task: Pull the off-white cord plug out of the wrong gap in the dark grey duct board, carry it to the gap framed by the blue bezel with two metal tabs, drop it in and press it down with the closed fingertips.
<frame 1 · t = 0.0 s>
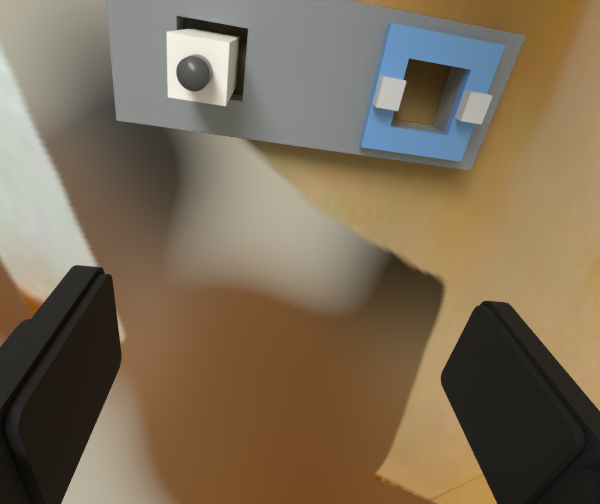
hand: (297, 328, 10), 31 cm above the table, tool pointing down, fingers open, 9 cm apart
duct board: (313, 74, 35), on the table
cord plug: (215, 57, 34), resting in duct board
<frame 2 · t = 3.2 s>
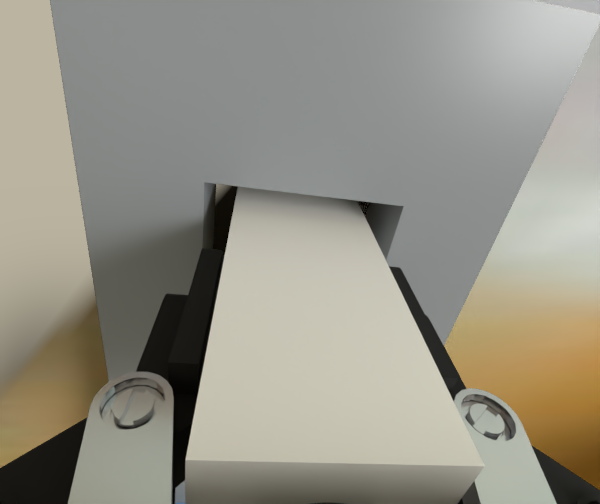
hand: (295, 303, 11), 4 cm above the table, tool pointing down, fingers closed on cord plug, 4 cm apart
duct board: (263, 387, 19), on the table
cord plug: (288, 231, 14), resting in duct board, touching gripper
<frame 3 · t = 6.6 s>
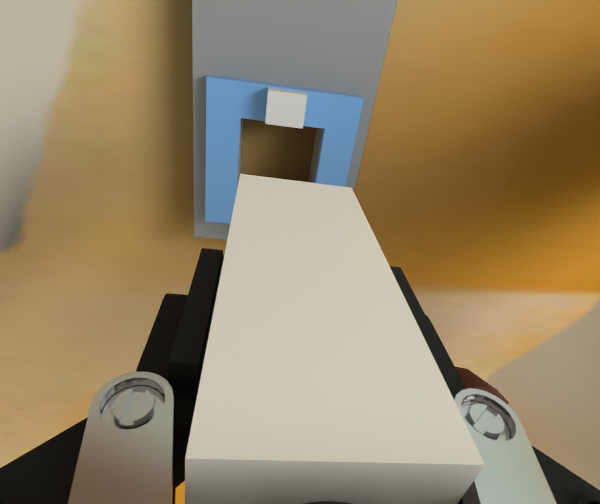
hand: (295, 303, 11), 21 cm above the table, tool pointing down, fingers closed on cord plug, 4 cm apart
ice cream bowl: (415, 348, 43), on the table
cord plug: (289, 230, 14), point 17 cm above the table, touching gripper
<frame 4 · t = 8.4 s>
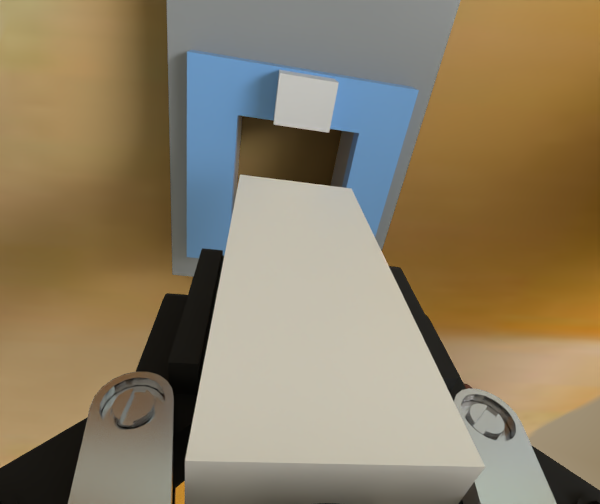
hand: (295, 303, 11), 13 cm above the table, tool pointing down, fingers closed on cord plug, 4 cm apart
cord plug: (288, 231, 14), point 9 cm above the table, touching gripper
when the fingers open (6 cm above the table, at t = 10.0 s): cord plug drops 2 cm, resting in duct board.
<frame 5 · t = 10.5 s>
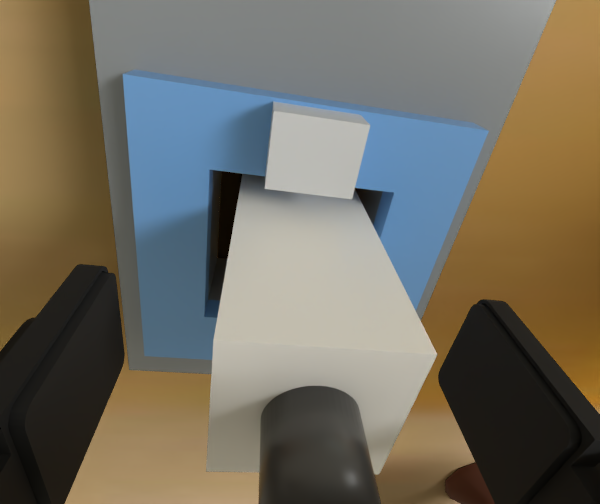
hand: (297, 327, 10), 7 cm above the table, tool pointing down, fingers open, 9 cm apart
ice cream bowl: (478, 477, 29), on the table
cord plug: (288, 207, 16), resting in duct board
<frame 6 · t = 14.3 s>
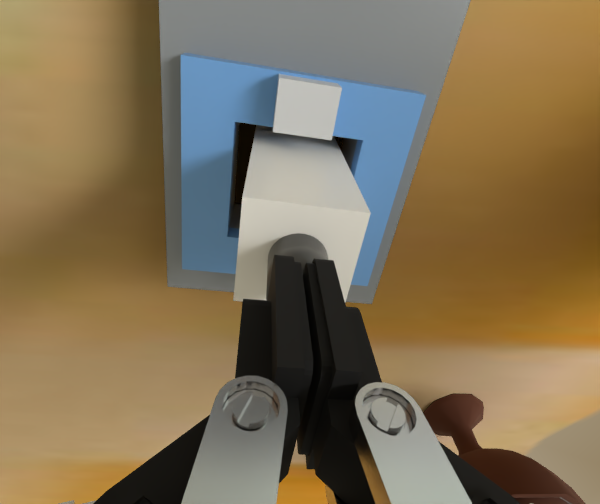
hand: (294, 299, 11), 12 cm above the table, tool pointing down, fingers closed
ice cream bowl: (451, 411, 34), on the table
cord plug: (289, 162, 21), resting in duct board, touching gripper
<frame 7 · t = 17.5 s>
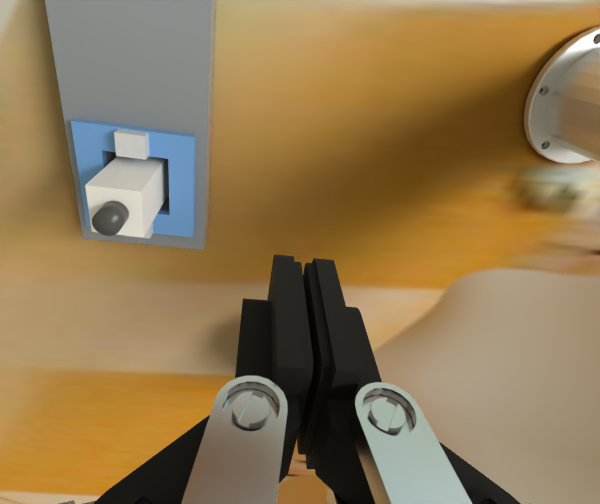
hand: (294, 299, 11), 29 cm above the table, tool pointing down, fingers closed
duct board: (143, 59, 33), on the table
cord plug: (150, 169, 38), resting in duct board
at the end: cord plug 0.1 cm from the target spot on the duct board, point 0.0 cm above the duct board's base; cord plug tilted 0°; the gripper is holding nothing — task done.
